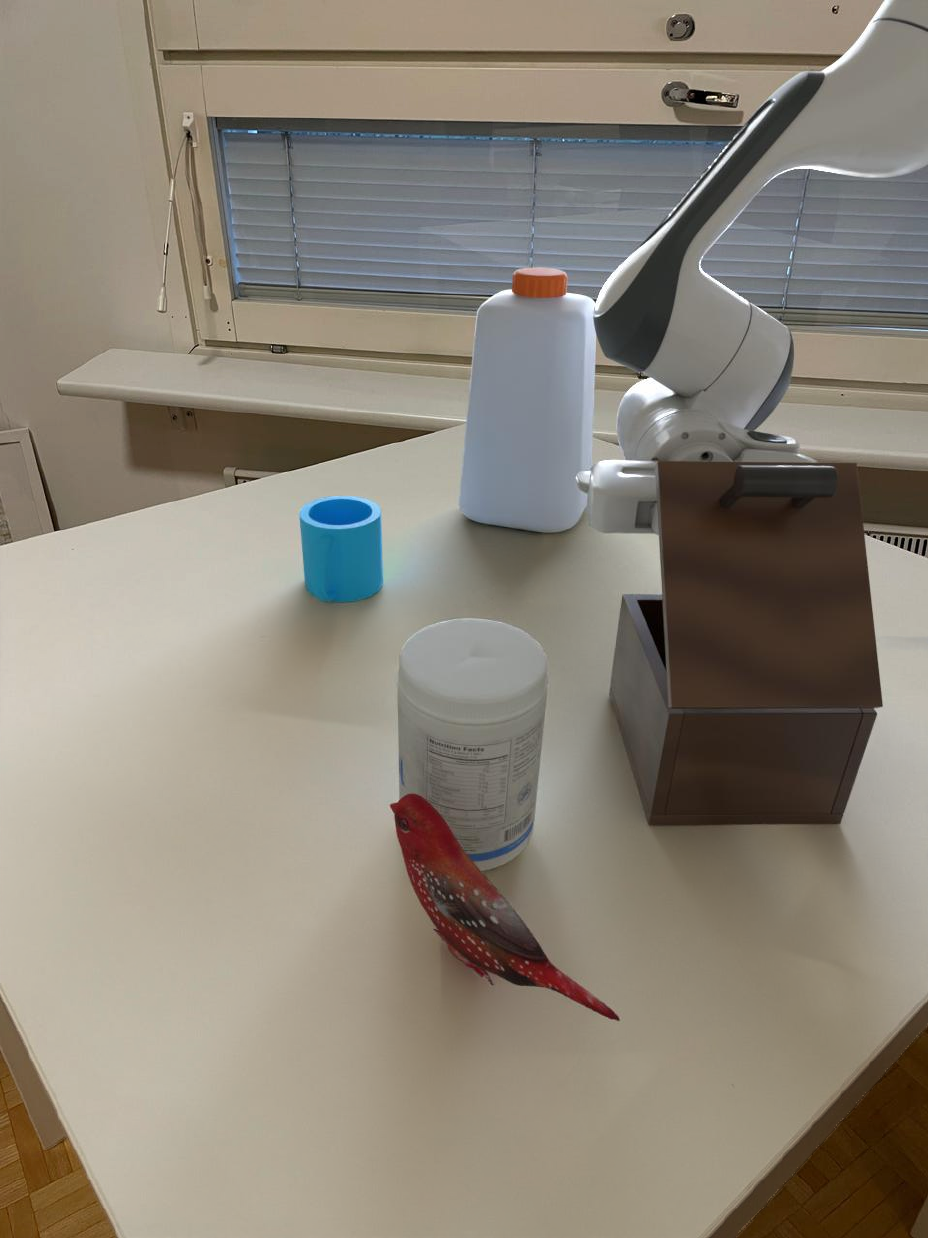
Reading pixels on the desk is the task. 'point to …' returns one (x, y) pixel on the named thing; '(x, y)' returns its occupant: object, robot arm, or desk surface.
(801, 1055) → the desk surface
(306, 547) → the mug
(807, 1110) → the desk surface
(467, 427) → the plastic bottle
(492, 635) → the supplement tub
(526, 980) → the decorative bird figurine
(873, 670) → the chest lid
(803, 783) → the chest
